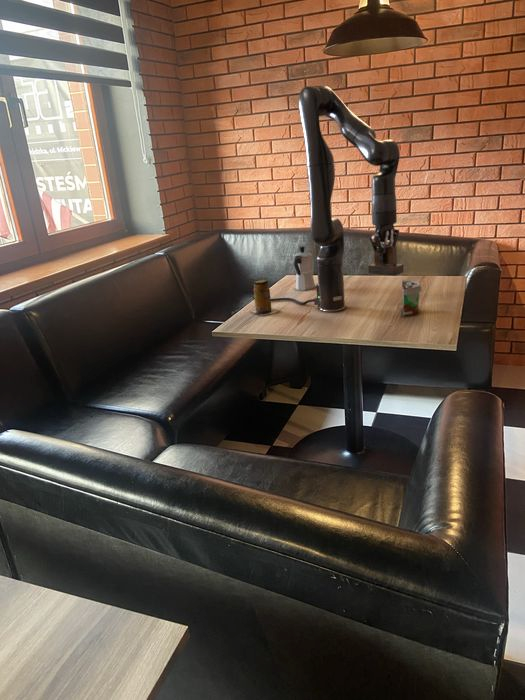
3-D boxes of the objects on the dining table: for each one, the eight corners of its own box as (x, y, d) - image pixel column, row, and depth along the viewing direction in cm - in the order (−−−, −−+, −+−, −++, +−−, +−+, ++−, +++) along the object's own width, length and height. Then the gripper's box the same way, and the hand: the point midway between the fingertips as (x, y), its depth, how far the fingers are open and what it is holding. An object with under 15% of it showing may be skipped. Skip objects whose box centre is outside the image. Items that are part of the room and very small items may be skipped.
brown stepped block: (368, 273, 176) (367, 246, 173) (377, 269, 179) (376, 244, 176) (394, 275, 169) (394, 248, 166) (403, 272, 172) (403, 245, 169)
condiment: (267, 307, 209) (264, 277, 205) (278, 312, 202) (275, 281, 198) (251, 312, 206) (247, 281, 202) (261, 316, 199) (258, 285, 195)
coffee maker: (301, 284, 239) (298, 243, 233) (319, 284, 235) (317, 243, 229) (288, 293, 227) (284, 250, 221) (307, 293, 223) (304, 250, 217)
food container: (422, 317, 179) (422, 288, 175) (403, 318, 180) (403, 289, 177) (420, 306, 190) (420, 279, 187) (402, 307, 191) (401, 280, 188)
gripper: (386, 205, 174) (387, 258, 180) (361, 211, 165) (363, 267, 171) (406, 205, 169) (407, 259, 175) (381, 212, 160) (383, 268, 166)
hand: (385, 263), depth 173 cm, fingers closed on brown stepped block
